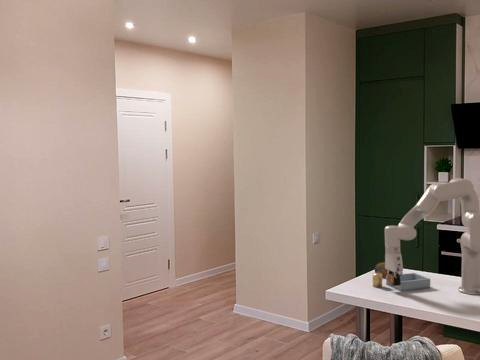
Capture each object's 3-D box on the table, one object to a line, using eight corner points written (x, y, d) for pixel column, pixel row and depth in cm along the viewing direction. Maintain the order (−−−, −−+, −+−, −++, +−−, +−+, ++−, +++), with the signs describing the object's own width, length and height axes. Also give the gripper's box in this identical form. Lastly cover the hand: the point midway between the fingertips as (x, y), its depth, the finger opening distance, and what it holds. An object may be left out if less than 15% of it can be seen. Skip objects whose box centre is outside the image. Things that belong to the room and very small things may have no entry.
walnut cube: (401, 285, 254) (400, 275, 254) (392, 286, 253) (392, 276, 253) (395, 282, 259) (395, 273, 259) (387, 283, 258) (386, 274, 258)
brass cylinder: (384, 287, 265) (384, 274, 264) (375, 288, 264) (375, 275, 263) (379, 284, 270) (379, 272, 269) (371, 285, 268) (371, 273, 268)
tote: (430, 288, 261) (430, 278, 261) (400, 291, 257) (400, 281, 256) (414, 281, 275) (414, 272, 275) (386, 284, 270) (386, 275, 270)
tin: (374, 276, 287) (374, 262, 287) (374, 275, 290) (374, 261, 290) (401, 278, 283) (401, 264, 282) (401, 277, 286) (401, 262, 285)
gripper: (408, 251, 248) (410, 286, 249) (389, 246, 264) (391, 279, 265) (395, 253, 246) (397, 288, 247) (377, 247, 262) (378, 280, 263)
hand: (394, 283), depth 256 cm, fingers closed on walnut cube, 5 cm apart
